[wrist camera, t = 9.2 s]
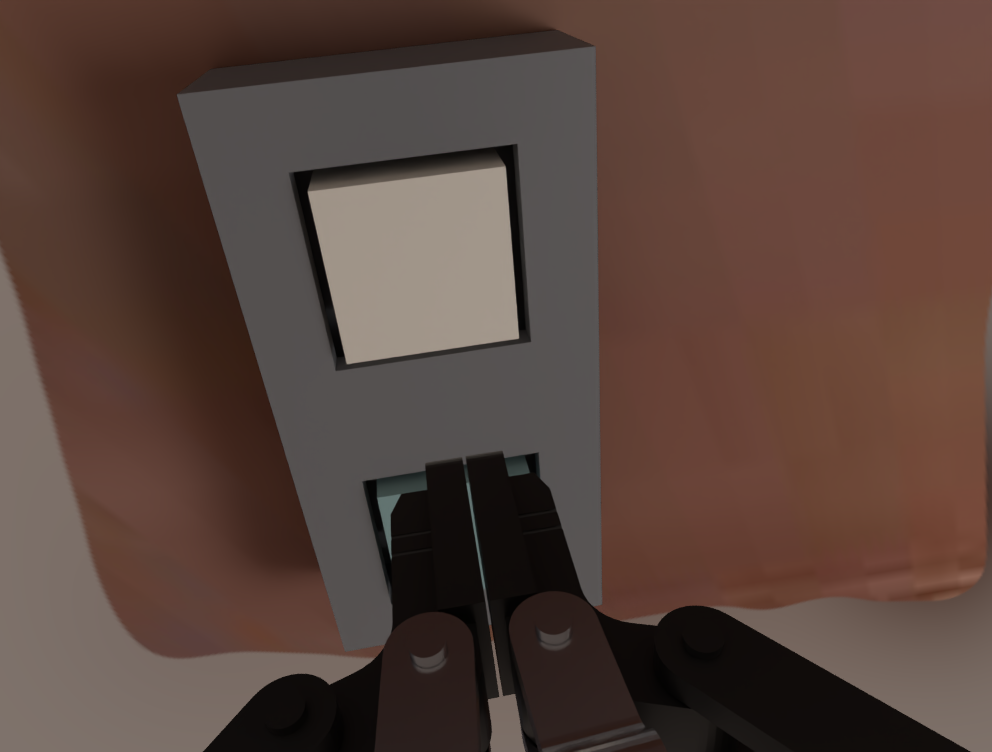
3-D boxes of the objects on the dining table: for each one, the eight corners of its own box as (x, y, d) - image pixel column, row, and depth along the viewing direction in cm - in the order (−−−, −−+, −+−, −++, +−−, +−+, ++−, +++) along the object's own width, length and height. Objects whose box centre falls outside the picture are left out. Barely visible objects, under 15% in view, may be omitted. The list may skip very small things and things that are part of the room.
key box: (557, 30, 25) (595, 46, 21) (575, 530, 38) (602, 604, 33) (210, 69, 24) (176, 94, 20) (348, 570, 37) (345, 651, 32)
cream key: (491, 143, 24) (505, 166, 22) (505, 302, 27) (519, 338, 25) (314, 165, 24) (307, 191, 21) (349, 325, 27) (346, 364, 24)
